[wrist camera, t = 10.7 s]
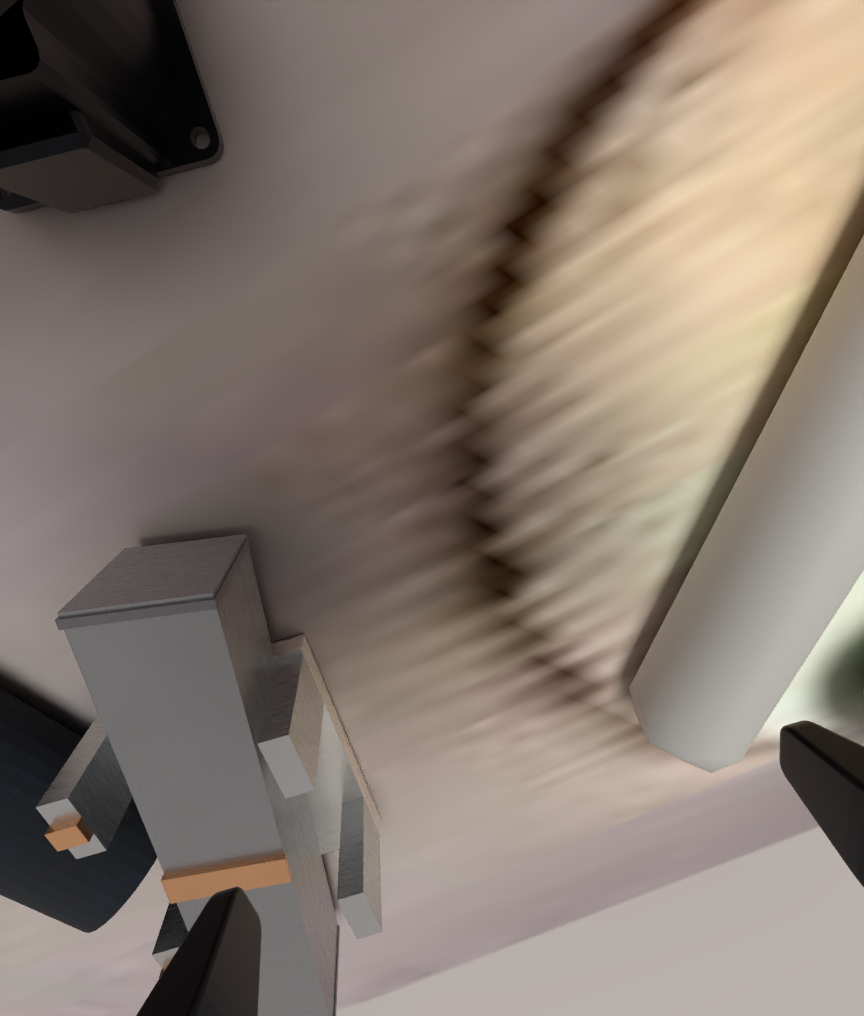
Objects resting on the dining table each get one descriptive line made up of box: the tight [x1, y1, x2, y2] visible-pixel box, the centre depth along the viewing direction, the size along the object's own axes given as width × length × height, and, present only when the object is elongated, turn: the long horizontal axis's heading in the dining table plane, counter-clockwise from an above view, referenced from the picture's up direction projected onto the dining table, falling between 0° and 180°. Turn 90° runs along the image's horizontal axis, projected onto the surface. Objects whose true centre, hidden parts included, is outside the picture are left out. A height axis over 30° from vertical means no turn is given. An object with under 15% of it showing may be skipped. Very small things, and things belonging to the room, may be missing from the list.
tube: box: [629, 235, 864, 773], centre depth 18 cm, size 5×5×25 cm
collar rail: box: [36, 634, 382, 978], centre depth 20 cm, size 11×8×5 cm
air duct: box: [55, 534, 340, 1016], centre depth 19 cm, size 22×4×4 cm, turn 5°
